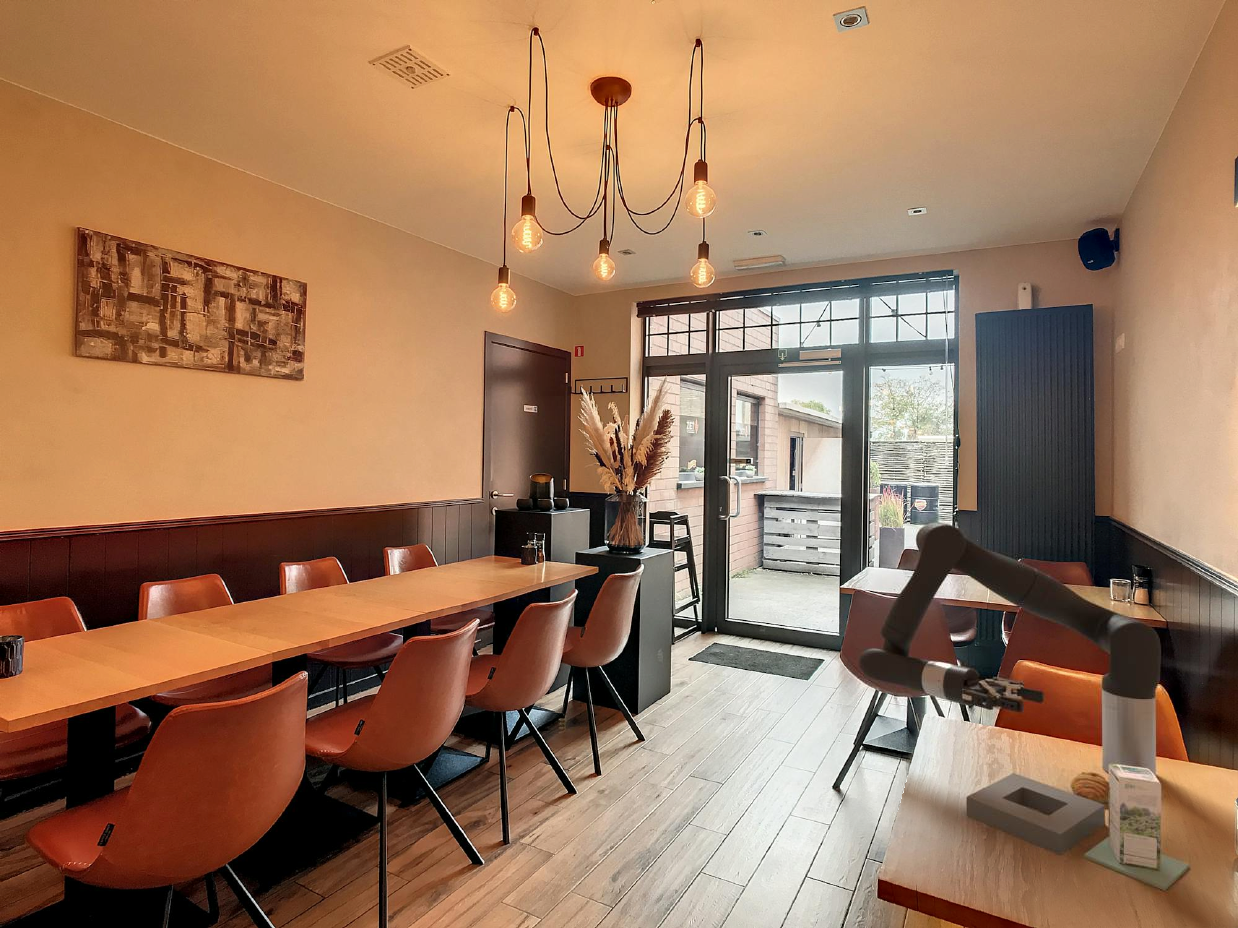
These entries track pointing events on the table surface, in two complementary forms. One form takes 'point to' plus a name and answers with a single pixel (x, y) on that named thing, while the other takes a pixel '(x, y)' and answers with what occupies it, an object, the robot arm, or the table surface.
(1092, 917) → the table surface
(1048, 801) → the socket block
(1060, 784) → the table surface
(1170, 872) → the sage mat
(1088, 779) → the pastry
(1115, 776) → the syrup box
